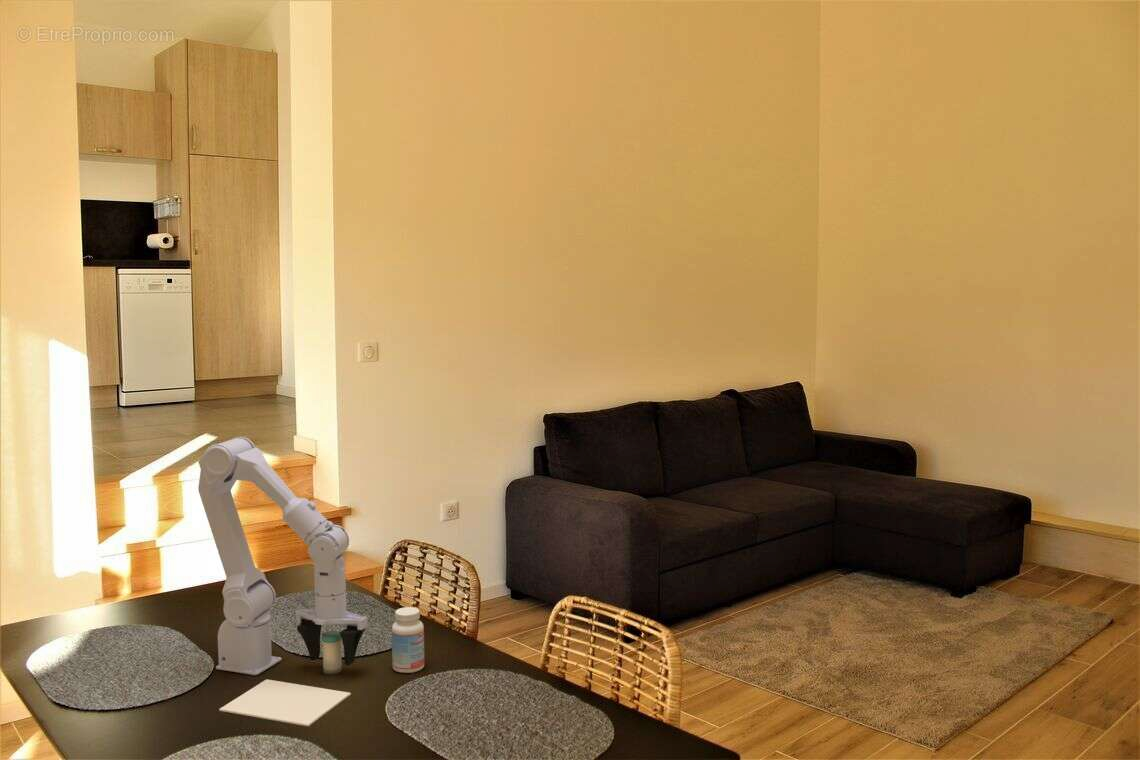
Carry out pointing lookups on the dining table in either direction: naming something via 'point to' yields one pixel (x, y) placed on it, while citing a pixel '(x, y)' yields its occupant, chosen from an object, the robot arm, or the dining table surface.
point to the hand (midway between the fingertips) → (332, 661)
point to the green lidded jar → (332, 652)
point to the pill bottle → (407, 641)
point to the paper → (286, 702)
